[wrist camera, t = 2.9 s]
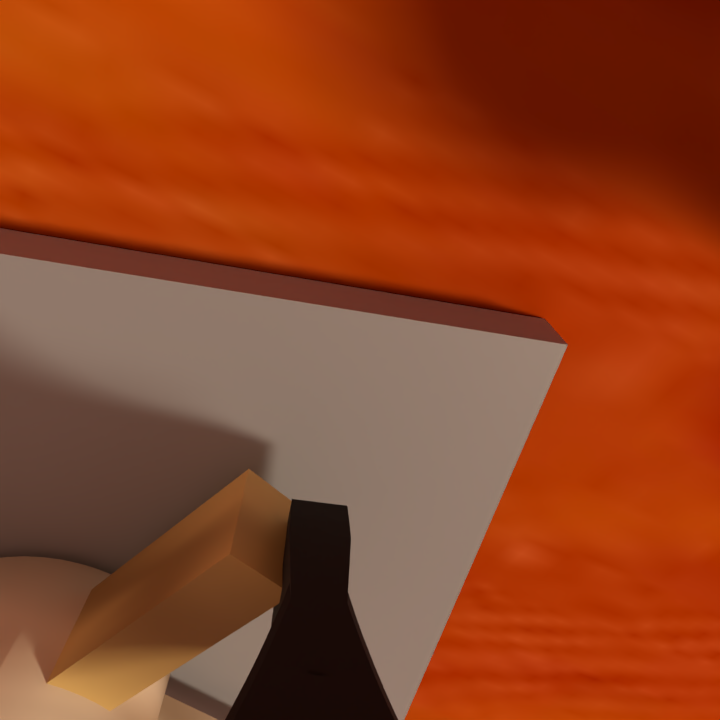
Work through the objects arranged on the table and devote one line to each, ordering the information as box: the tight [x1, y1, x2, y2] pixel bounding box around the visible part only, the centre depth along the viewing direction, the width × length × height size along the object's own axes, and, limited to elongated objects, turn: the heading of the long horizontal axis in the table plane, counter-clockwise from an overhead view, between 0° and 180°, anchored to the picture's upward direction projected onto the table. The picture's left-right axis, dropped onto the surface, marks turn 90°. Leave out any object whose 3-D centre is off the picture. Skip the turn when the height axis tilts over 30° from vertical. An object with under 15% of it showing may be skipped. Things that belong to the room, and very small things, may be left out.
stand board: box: [0, 228, 567, 720], centre depth 13 cm, size 20×20×2 cm
